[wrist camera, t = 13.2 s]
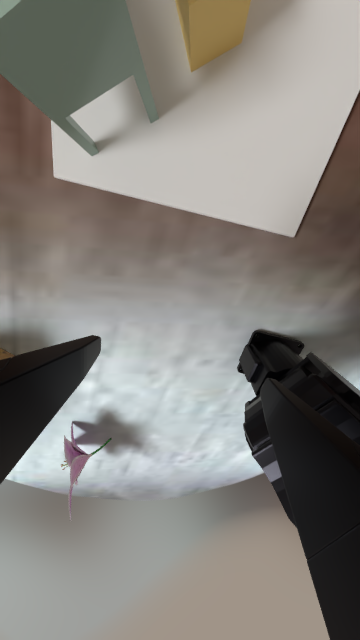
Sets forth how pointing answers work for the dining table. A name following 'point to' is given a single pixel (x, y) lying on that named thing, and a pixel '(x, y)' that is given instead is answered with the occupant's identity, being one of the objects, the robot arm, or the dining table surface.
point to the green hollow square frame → (70, 56)
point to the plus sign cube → (211, 27)
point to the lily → (75, 460)
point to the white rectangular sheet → (226, 115)
